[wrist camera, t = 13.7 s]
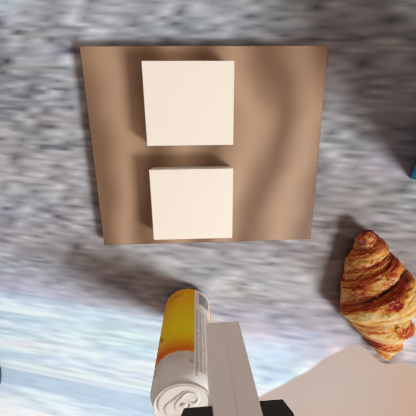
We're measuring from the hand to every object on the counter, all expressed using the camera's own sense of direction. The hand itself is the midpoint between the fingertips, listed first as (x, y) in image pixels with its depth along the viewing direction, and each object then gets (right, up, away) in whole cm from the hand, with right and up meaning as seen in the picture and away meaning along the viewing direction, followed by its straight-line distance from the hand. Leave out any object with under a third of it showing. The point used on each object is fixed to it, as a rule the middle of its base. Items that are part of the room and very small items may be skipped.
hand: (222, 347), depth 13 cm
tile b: (+2, +7, +19) cm, 20 cm away
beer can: (-4, -7, +26) cm, 27 cm away
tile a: (+2, +17, +16) cm, 24 cm away
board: (-1, +13, +20) cm, 24 cm away
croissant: (+22, -5, +27) cm, 35 cm away
